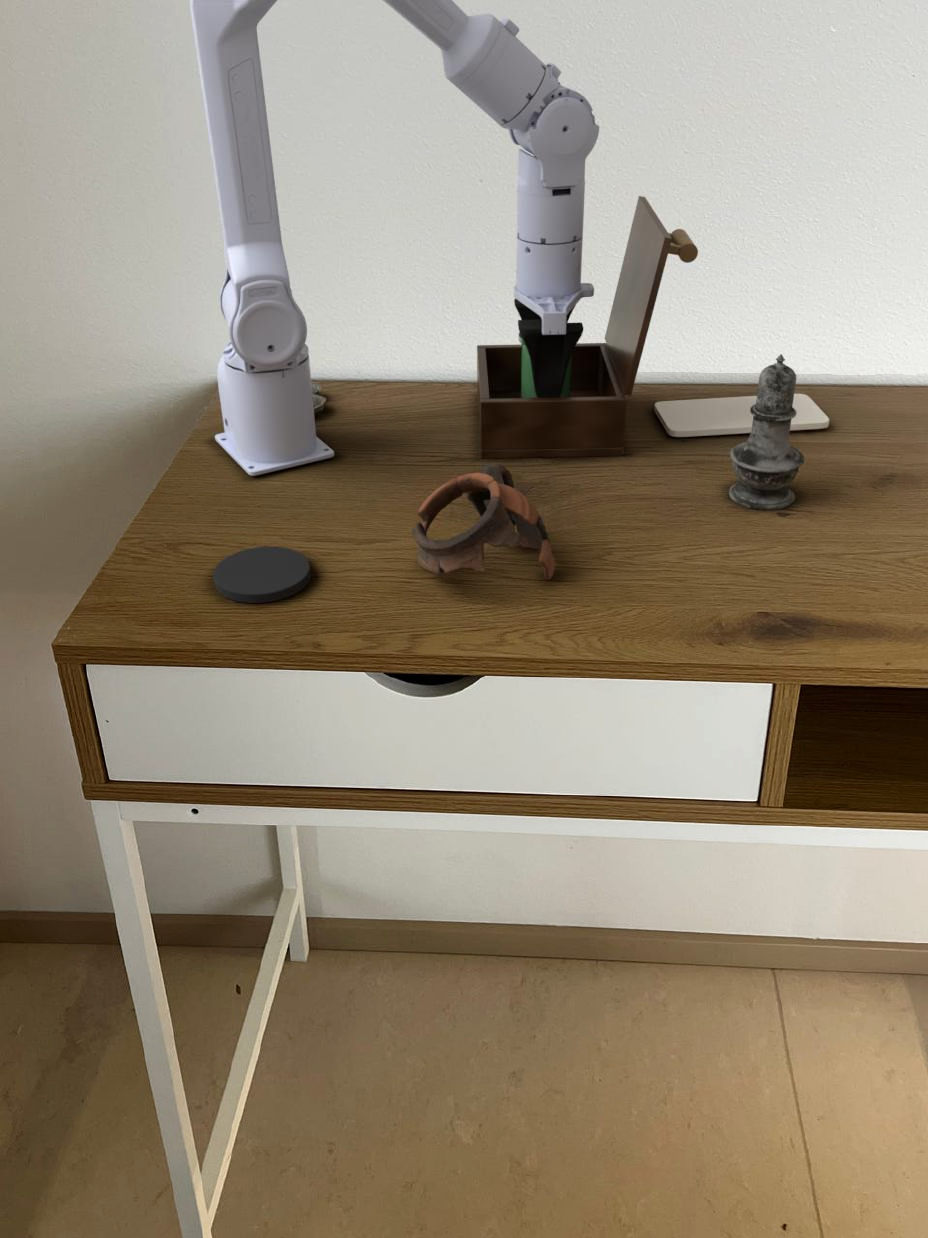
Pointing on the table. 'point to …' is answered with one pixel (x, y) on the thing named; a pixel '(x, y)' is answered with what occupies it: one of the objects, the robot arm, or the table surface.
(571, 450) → the box
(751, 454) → the salt shaker
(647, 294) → the lid
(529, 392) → the green pot
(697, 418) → the smartphone
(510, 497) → the broken clay pot rim
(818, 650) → the table surface
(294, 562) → the disc
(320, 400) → the corroded twin loop
